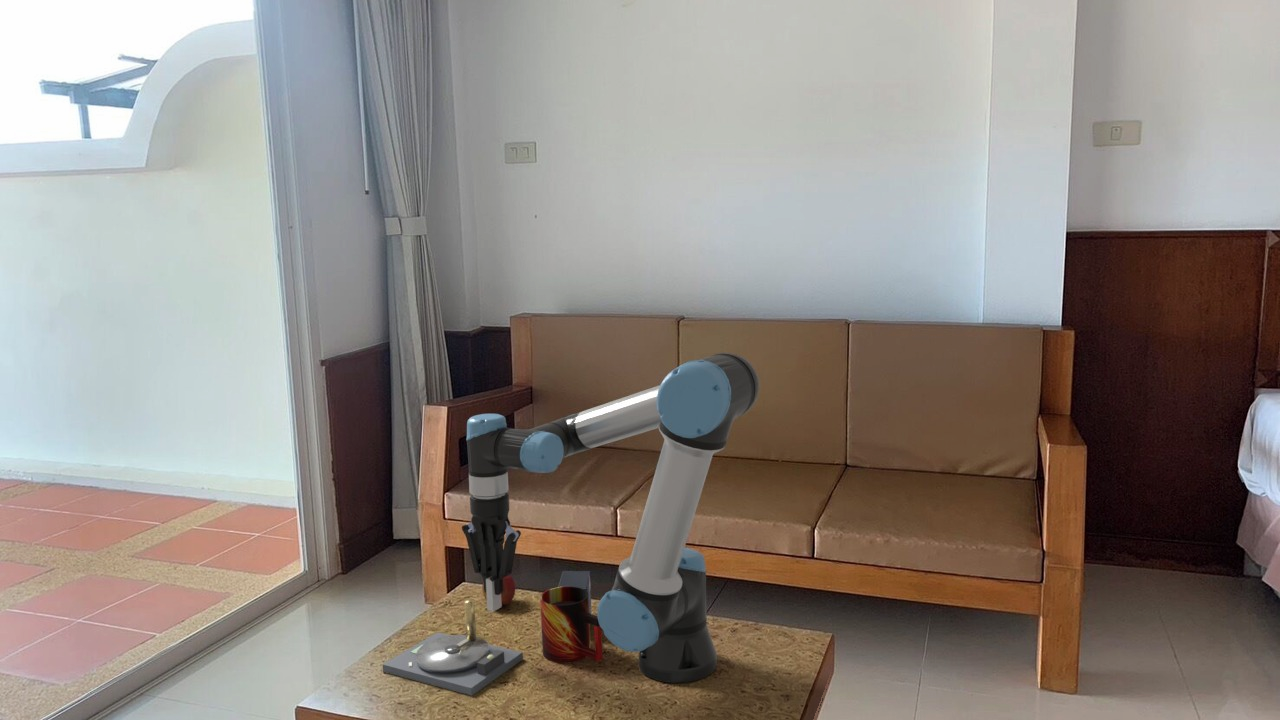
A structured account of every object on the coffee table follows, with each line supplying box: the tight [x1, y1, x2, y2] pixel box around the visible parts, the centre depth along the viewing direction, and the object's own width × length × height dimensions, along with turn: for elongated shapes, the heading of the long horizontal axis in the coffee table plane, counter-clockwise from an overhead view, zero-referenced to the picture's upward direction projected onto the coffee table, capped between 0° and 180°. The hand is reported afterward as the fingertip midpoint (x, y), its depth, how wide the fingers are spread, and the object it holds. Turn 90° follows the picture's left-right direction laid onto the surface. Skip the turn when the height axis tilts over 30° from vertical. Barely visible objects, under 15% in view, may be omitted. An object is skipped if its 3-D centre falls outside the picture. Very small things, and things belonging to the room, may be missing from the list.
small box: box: [557, 570, 592, 614], centre depth 199 cm, size 11×6×10 cm, turn 179°
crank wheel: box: [416, 598, 489, 673], centre depth 182 cm, size 14×14×9 cm
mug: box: [539, 586, 604, 664], centre depth 186 cm, size 10×14×12 cm
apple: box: [481, 574, 516, 606], centre depth 211 cm, size 8×8×8 cm
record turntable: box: [382, 631, 524, 697], centre depth 183 cm, size 22×16×4 cm
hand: (494, 608), depth 184 cm, fingers closed
